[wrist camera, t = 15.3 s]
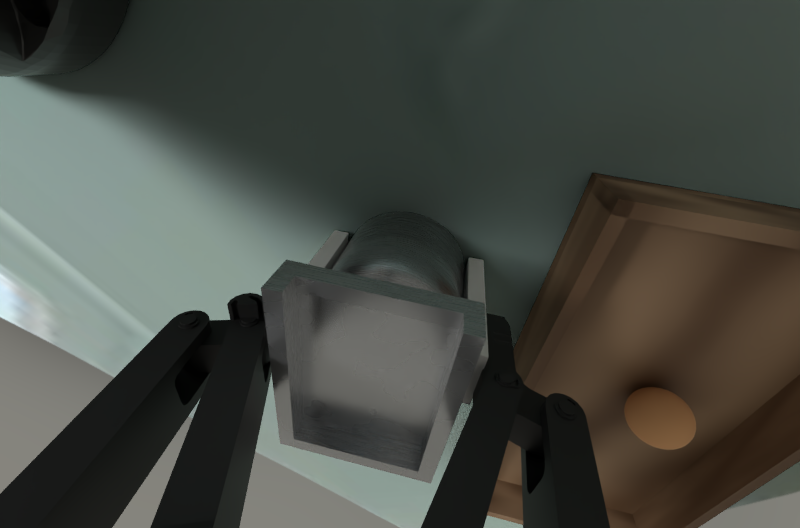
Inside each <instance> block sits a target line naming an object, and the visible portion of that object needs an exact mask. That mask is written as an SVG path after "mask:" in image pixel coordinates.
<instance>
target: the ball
mask: <svg viewBox="0 0 800 528" xmlns="http://www.w3.org/2000/svg"><path fill="white" fill-rule="evenodd" d="M624 414H625V418H626V421H627V424H628V426H629V427H630V429H631V430H632V432H633V433H634V434H635V435H636V436H637V437H638V438H639V439H641V440H642V441H643V442H645V443H647V444H649V445H651V446H653V447H656V448H659V449H665V450H674V449H679V448H682V447H684V446H686V445H687V444H688V443H690V442H691V440H692V439H693V437H694V435H695V432H696V420H695V417H694V414H693V412H692V410H691V409H690V407H689V406H688V405H687V404H686V402H685V401H684V400H682V399H681V398H680V397H679V396H677V395H676V394H674V393H672V392H670V391H668V390H665V389H662V388H657V387H646V388H641V389H638V390H636V391H635V392H633V393H632V394H631V395H630V396H629V397H628V399H627V400H626V403H625V407H624Z"/></svg>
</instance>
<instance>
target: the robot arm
mask: <svg viewBox="0 0 800 528" xmlns="http://www.w3.org/2000/svg"><path fill="white" fill-rule="evenodd" d="M128 2H129V0H0V76H5V77H11V76H31V75H51V74H62V73H68V72H72V71H75V70H78V69H80V68H82V67H84V66H86V65H88V64H90V63H91V62H93V61H94V60H95V59H97V58H98V57H99V56H100V55H101V54H102V53H103V52H104V51H105V50H106V49H107V48H108V46H109V45H110V43H111V42H112V41H113V39H114V38H115V36H116V34H117V32H118V30H119V28H120V26H121V23H122V21H123V19H124V16H125V13H126V9H127V6H128ZM348 235H349V233H346V232H341V231H337V230H335V231H334V232H333V233H332V234H331V236H330V237H329V238H328V239H327V241H326V242H325V243H324V245H323V246H322V247H321V248H320V250H319V251H318V252H317V254H316V255H315V256H314V257H313V259H312V260H311V261H310V262H309V265H313V266H318V267H323V268H327V269H332V268H333V266H334V264H335V263H336V261H337V260H338V258H339V257H340V255H341V254H342V252H343V251H344V249H345V248H346V246H347V245H348ZM463 298H465V299H469V300H474V301H479V302H483V303H485V323H486V341H485V343H484V346H483V348H482V351H481V354H480V356H479V359H478V361H477V364H476V367H475V369H474V372H473V374H472V377H471V380H470V382H469V385H468V388H467V390H466V393H465V395H464V398H463V401H462V403H466V404H470V403H471V400H472V398H473V407H472V409H471V411H470V414H469V416H468V418H467V421H466V423H465V425H464V428H463V430H462V432H461V435H460V437H459V440H458V442H457V444H456V447H455V449H454V451H453V454H452V456H451V458H450V461H449V463H448V465H447V468H446V470H445V472H444V475H443V477H442V479H441V482H440V484H439V486H438V489H437V491H436V494H435V496H434V498H433V501H432V503H431V505H430V508H429V510H428V512H427V515H426V517H425V519H424V522H423V524H422V526H421V528H483V527H484V524H485V520H486V517H487V513H488V510H489V506H490V503H491V499H492V496H493V492H494V489H495V485H496V482H497V478H498V475H499V471H500V468H501V465H502V461H503V458H504V454H505V451H506V447H507V444H508V440H509V441H511V442H512V443H514V444H516V445H518V446H519V447H521V470H522V501H523V528H610V525H609V520H608V515H607V511H606V506H605V502H604V497H603V492H602V488H601V483H600V479H599V474H598V469H597V465H596V460H595V455H594V451H593V446H592V442H591V437H590V432H589V428H588V423H587V419H586V415H585V413H584V410H583V409H582V407H581V406H580V405H579V404H578V403H577V402H576V401H575V400H574V399H572V398H571V397H569V396H567V395H564V394H560V393H553V394H550V395H549V396H548V397H545V396H543V395H541V394H539V393H537V392H535V391H533V390H531V389H530V388H528V387H527V386H526V385H525V384H523V381H522V378H521V377H520V375H519V374H518V373H517V372H516V368H515V360H514V353H513V346H512V338H511V331H510V326H509V324H508V322H507V321H506V319H505V318H504V317H501V316H496V315H491V314H487V313H486V297H485V278H484V260H480V259H475V258H470V257H469V258H468V262H467V265H466V269H465V273H464V290H463ZM227 305H228V310H229V314H230V319H231V320H212V321H210V319H209V316H208V315H207V314H206V313H205V312H202V311H188V312H184V313H182V314H179V315H177V316H176V317H175V318H173V319H172V320H171V321H170V322H169V323H168V324H167V325H166V326H165V327H164V328H163V329H162V330H161V331H160V332H159V333H158V334H157V335H156V336H155V337H154V338H153V339H152V340H151V341H150V342H149V343H148V344H147V345H146V346H145V347H144V348H143V349H142V350H141V351H140V352H139V353H138V354H137V355H136V356H135V357H134V358H133V360H132V361H131V362H130V363H129V364H128V365H127V366H126V367H125V368H124V369H123V370H122V371H121V372H120V373H119V374H118V375H117V376H116V377H115V378H114V379H113V380H112V381H111V382H110V383H109V384H108V385H107V386H106V387H105V388H104V389H103V390H102V391H101V392H100V393H99V394H98V395H97V396H96V397H95V398H94V399H93V400H92V401H91V402H90V403H89V404H88V405H87V406H86V407H85V408H84V409H83V410H82V411H81V412H80V413H79V414H78V415H77V416H76V417H75V418H74V419H73V420H72V422H70V424H69V425H68V426H67V427H66V428H65V429H64V430H63V431H62V432H61V433H60V434H59V435H58V436H57V437H56V438H55V439H54V440H53V441H52V442H51V443H50V444H49V445H48V446H47V447H46V448H45V449H44V450H43V451H42V452H41V453H40V454H39V455H38V456H37V457H36V458H35V459H34V460H33V461H32V462H31V463H30V464H29V465H28V466H27V467H26V468H25V469H24V470H23V471H22V472H21V473H20V474H19V475H18V476H17V477H16V478H15V480H13V481H12V482H11V484H9V486H8V487H7V488H6V489H5V490H4V491H3V492H2V493H1V494H0V528H112V527H113V526H114V524H115V523H116V521H117V519H118V518H119V517H120V515H121V514H122V512H123V511H124V509H125V508H126V506H127V505H128V504H129V502H130V501H131V499H132V497H133V496H134V495H135V493H136V492H137V490H138V489H139V487H140V486H141V484H142V483H143V482H144V480H145V479H146V477H147V476H148V474H149V473H150V471H151V470H152V468H153V467H154V465H155V464H156V463H157V461H158V459H159V458H160V457H161V455H162V454H163V452H164V451H165V449H166V448H167V446H168V445H169V443H170V442H171V441H172V439H173V438H174V436H175V435H176V433H177V432H178V430H179V429H180V427H181V425H182V424H183V423H184V421H185V420H186V419H187V417H188V416H189V414H190V413H191V411H192V410H193V408H194V407H195V405H196V404H197V402H198V401H199V399H200V398H201V399H200V401H199V404H198V407H197V409H196V412H195V414H194V417H193V420H192V422H191V425H190V427H189V430H188V432H187V435H186V438H185V440H184V443H183V445H182V448H181V450H180V453H179V456H178V458H177V461H176V464H175V466H174V469H173V471H172V474H171V476H170V479H169V481H168V484H167V486H166V489H165V492H164V494H163V497H162V499H161V502H160V505H159V507H158V510H157V512H156V515H155V518H154V520H153V523H152V525H151V528H239V526H240V521H241V516H242V511H243V506H244V502H245V496H246V492H247V487H248V483H249V477H250V473H251V468H252V463H253V459H254V454H255V449H256V444H257V439H258V435H259V430H260V425H261V420H262V415H263V411H264V406H265V401H266V396H267V392H268V387H269V382H270V377H271V364H270V356H269V348H268V340H267V332H266V324H265V316H264V308H263V299H262V296H260V295H258V294H253V293H247V294H241V295H239V296H236V297H234V298H233V299H231V300H230V302H229V303H228V304H227Z"/></svg>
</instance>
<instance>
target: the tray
mask: <svg viewBox="0 0 800 528" xmlns="http://www.w3.org/2000/svg"><path fill="white" fill-rule="evenodd" d="M513 353H514V360H515V368H516V372H517V373H518V374H519V375H520V377H521V378H522V381H523V384H525V385H526V386H527V387H528V388H530V389H531V390H533V391H535V392H537V393H539V394H541V395H543V396H545V397H548V396H549V395H550V394H553V393H560V394H564V395H567V396H569V397H571V398H572V399H574V400H575V401H576V402H577V403H578V404H579V405H580V406H581V407H582V409H583V410H584V413H585V415H586V419H587V423H588V428H589V432H590V437H591V442H592V446H593V451H594V455H595V460H596V465H597V469H598V474H599V479H600V483H601V488H602V492H603V497H604V502H605V506H606V511H607V515H608V520H609V525H610V528H698V527H699V526H701V525H703V524H704V523H706V522H707V521H709V520H710V519H712V518H713V517H715V516H716V515H718V514H719V513H721V512H723V511H724V510H726V509H727V508H729V507H730V506H732V505H733V504H735V503H736V502H738V501H739V500H741V499H742V498H744V497H745V496H747V495H749V494H750V493H752V492H753V491H755V490H756V489H758V488H759V487H761V486H762V485H764V484H765V483H767V482H768V481H770V480H771V479H773V478H775V477H776V476H778V475H779V474H781V473H782V472H784V471H785V470H787V469H788V468H790V467H791V466H793V465H794V464H796V463H797V462H799V461H800V209H798V208H792V207H786V206H780V205H775V204H769V203H763V202H757V201H752V200H746V199H740V198H734V197H729V196H723V195H717V194H711V193H706V192H700V191H694V190H688V189H683V188H677V187H671V186H666V185H660V184H654V183H648V182H643V181H637V180H631V179H625V178H620V177H614V176H608V175H602V174H597V173H592V175H591V178H590V180H589V182H588V184H587V187H586V189H585V191H584V193H583V196H582V198H581V200H580V202H579V204H578V207H577V209H576V211H575V213H574V216H573V218H572V220H571V222H570V225H569V227H568V229H567V231H566V234H565V236H564V238H563V240H562V242H561V245H560V247H559V249H558V251H557V254H556V256H555V258H554V260H553V263H552V265H551V267H550V269H549V272H548V274H547V276H546V278H545V280H544V283H543V285H542V287H541V289H540V292H539V294H538V296H537V298H536V301H535V303H534V305H533V307H532V309H531V312H530V314H529V316H528V318H527V321H526V323H525V325H524V327H523V330H522V332H521V334H520V336H519V339H518V341H517V343H516V345H515V347H514V350H513ZM646 387H657V388H662V389H665V390H668V391H670V392H672V393H674V394H676V395H677V396H679V397H680V398H681V399H682V400H684V401H685V402H686V404H687V405H688V406H689V407H690V409H691V410H692V412H693V414H694V417H695V420H696V432H695V435H694V437H693V439H692V440H691V442H690V443H688V444H687V445H686V446H684V447H682V448H679V449H674V450H665V449H659V448H656V447H653V446H651V445H649V444H647V443H645V442H643V441H642V440H641V439H639V438H638V437H637V436H636V435H635V434H634V433H633V432H632V430H631V429H630V427H629V426H628V424H627V421H626V418H625V414H624V407H625V403H626V400H627V399H628V397H629V396H630V395H631V394H632V393H633V392H635V391H636V390H638V389H641V388H646ZM487 515H488V516H492V517H496V518H500V519H503V520H507V521H511V522H515V523H518V524H522V525H523V501H522V470H521V447H519V446H518V445H516V444H514V443H512V442H511V441H509V440H508V444H507V447H506V451H505V454H504V458H503V461H502V465H501V468H500V471H499V475H498V478H497V482H496V485H495V489H494V492H493V496H492V499H491V503H490V506H489V510H488V513H487Z"/></svg>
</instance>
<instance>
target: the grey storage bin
mask: <svg viewBox="0 0 800 528" xmlns="http://www.w3.org/2000/svg"><path fill="white" fill-rule="evenodd" d="M464 267H465V266H464V258H463V254H462V251H461V249H460V247H459V245H458V243H457V242H456V240H455V238H454V237H453V236H452V235H451V234H450V232H448V231H447V230H446V229H445V228H444V227H443V226H441V225H440V224H439V223H437V222H435V221H434V220H432V219H430V218H428V217H425V216H423V215H419V214H415V213H410V212H390V213H385V214H381V215H378V216H376V217H374V218H372V219H370V220H368V221H367V222H365V223H364V224H363V225H362V226H361V227H360V228H359V229H358V230H357V231H356V233H355V234H354V236H353V237H352V239H351V240H350V242H349V243H348V245H347V246H346V248H345V249H344V251H343V252H342V254H341V255H340V257H339V258H338V260H337V261H336V263H335V264H334V266H333V268H332V269H327V268H323V267H318V266H313V265H309V264H304V263H300V262H295V261H290V260H286V261H285V262H284V263H283V264H282V265H281V266H280V267H279V268H278V269H277V271H276V272H275V273H274V274H273V275H272V276H271V277H270V278H269V279H268V281H267V282H266V283H265V284H264V285H263V286H262V287H261V291H262V299H263V308H264V316H265V324H266V332H267V340H268V348H269V356H270V364H271V372H272V380H273V388H274V396H275V404H276V412H277V421H278V429H279V437H280V443H281V444H285V445H289V446H292V447H296V448H300V449H304V450H307V451H311V452H315V453H319V454H322V455H326V456H330V457H334V458H337V459H341V460H345V461H349V462H352V463H356V464H360V465H364V466H367V467H371V468H375V469H379V470H382V471H386V472H390V473H394V474H397V475H401V476H405V477H409V478H412V479H416V480H420V481H424V482H427V483H431V482H432V479H433V476H434V474H435V471H436V468H437V466H438V463H439V461H440V458H441V455H442V453H443V450H444V448H445V445H446V442H447V440H448V437H449V435H450V432H451V429H452V427H453V424H454V421H455V419H456V416H457V414H458V411H459V408H460V406H461V403H462V401H463V398H464V395H465V393H466V390H467V388H468V385H469V382H470V380H471V377H472V374H473V372H474V369H475V367H476V364H477V361H478V359H479V356H480V354H481V351H482V348H483V346H484V343H485V341H486V323H485V303H483V302H479V301H474V300H469V299H465V298H463V290H464Z"/></svg>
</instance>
